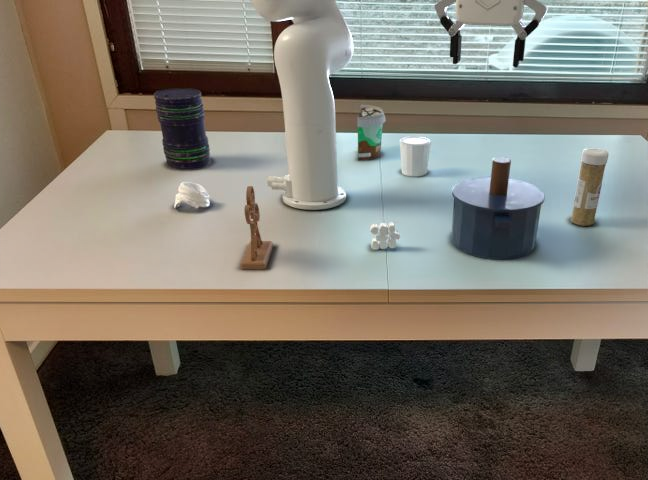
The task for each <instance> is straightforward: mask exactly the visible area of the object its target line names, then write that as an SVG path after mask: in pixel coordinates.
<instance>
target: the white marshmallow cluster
mask: <svg viewBox="0 0 648 480" xmlns="http://www.w3.org/2000/svg"><path fill="white" fill-rule="evenodd" d="M369 229H370V232H371V234H373V235H375V237H373V238H372V240H371V243H370V247H371V249H372V250H375V251H377V250H379V249H381V250H386V249H387V248H388V247H389V248H390V249H394V248H395V249H396V247H397V241H398V240H399V239H400V238H401V235H400V234H401V233H400V231H399V230H396V226H395V223H394V222H393V221H390V222H389V223H388V224H387V223H386V222H381V223H380V224H377V223H372V224H371V226H370V228H369Z"/></svg>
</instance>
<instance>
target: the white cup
mask: <svg viewBox="0 0 648 480" xmlns="http://www.w3.org/2000/svg"><path fill="white" fill-rule="evenodd" d="M431 144H432V141H431V140H430V139H429V138H426V137H422V136H405V137H402V138H400V139H399V151H400V164H401V168H400V169H401V174H402V175H404V176H407V177H422V176H426V175H427V173H428V165H429V159H430V152H431Z"/></svg>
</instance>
